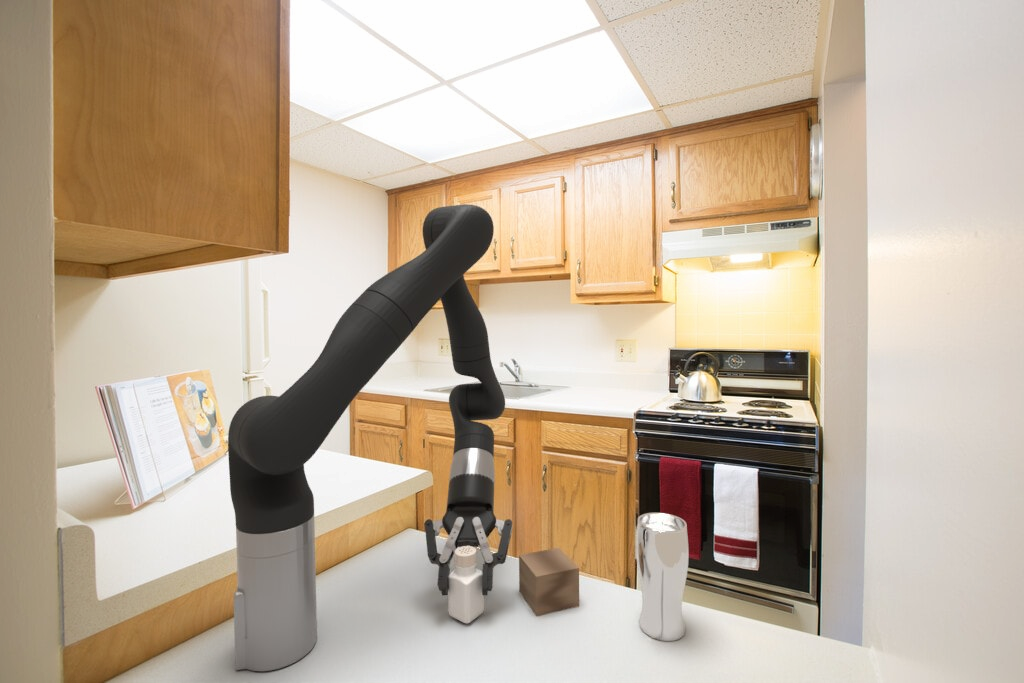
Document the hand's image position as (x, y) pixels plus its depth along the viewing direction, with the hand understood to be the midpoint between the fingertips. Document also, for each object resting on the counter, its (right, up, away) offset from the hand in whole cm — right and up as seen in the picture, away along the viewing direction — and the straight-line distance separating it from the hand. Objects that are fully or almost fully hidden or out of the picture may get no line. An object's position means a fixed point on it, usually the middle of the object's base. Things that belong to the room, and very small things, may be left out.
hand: (464, 593), depth 67 cm
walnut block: (+12, -4, +6) cm, 14 cm away
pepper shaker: (0, -4, +2) cm, 5 cm away
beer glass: (+28, -4, -1) cm, 28 cm away
